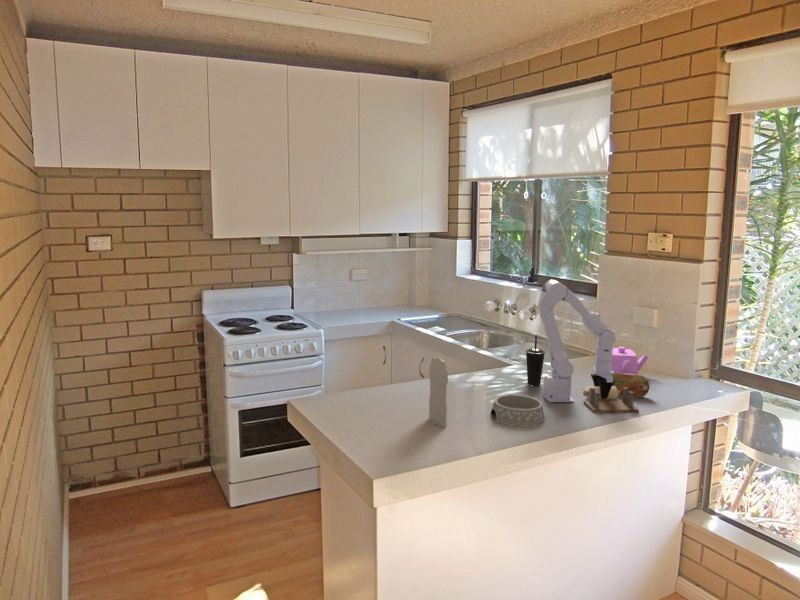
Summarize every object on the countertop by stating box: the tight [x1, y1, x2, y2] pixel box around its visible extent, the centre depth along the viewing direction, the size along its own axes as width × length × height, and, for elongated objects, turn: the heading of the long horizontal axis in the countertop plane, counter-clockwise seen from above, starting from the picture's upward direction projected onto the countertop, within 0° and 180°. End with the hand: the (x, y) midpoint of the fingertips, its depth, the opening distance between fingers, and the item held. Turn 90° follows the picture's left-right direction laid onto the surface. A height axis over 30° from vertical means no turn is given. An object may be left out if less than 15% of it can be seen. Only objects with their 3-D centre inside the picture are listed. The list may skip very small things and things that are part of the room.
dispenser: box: [428, 356, 449, 428], centre depth 200 cm, size 11×4×22 cm, turn 28°
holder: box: [583, 387, 640, 414], centre depth 218 cm, size 16×10×6 cm, turn 93°
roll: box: [582, 385, 621, 401], centre depth 227 cm, size 13×5×5 cm, turn 93°
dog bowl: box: [490, 394, 546, 426], centre depth 209 cm, size 17×18×5 cm
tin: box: [612, 373, 650, 399], centre depth 232 cm, size 15×3×8 cm, turn 62°
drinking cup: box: [525, 334, 546, 387], centre depth 243 cm, size 8×8×20 cm
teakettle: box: [611, 346, 650, 375], centre depth 257 cm, size 17×17×12 cm
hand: (601, 395), depth 227 cm, fingers closed on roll, 5 cm apart
